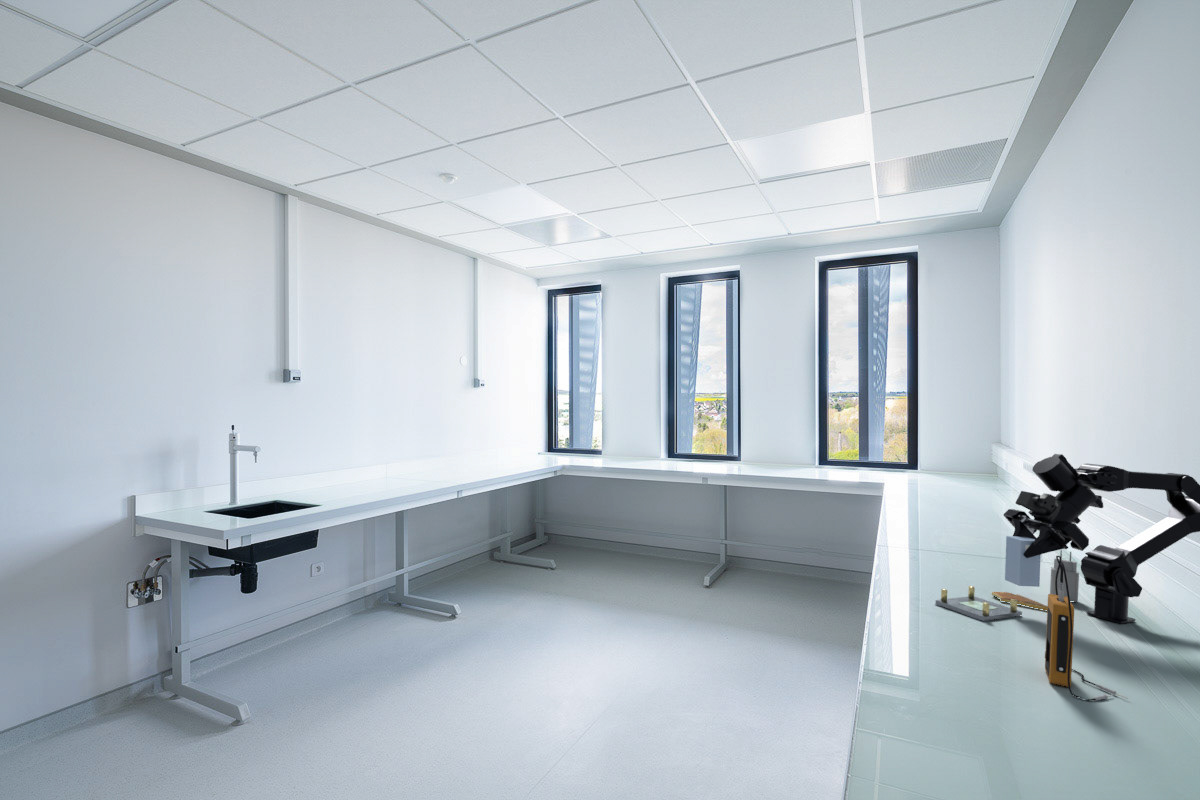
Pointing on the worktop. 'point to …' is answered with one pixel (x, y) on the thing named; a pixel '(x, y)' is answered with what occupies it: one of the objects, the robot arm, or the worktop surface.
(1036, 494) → the robot arm
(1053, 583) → the power adapter
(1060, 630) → the multimeter
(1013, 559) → the block
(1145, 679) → the worktop surface
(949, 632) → the worktop surface
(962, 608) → the chassis plate
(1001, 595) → the shard
